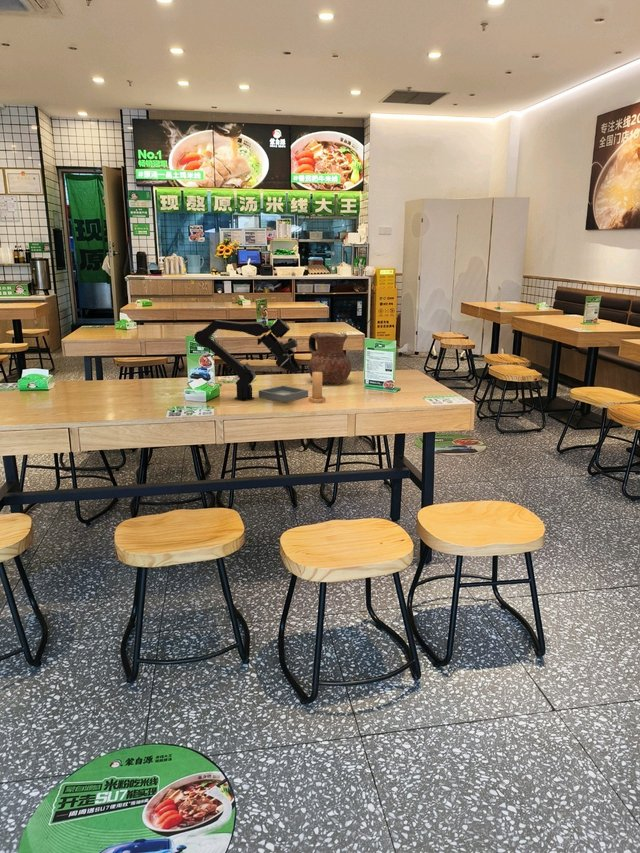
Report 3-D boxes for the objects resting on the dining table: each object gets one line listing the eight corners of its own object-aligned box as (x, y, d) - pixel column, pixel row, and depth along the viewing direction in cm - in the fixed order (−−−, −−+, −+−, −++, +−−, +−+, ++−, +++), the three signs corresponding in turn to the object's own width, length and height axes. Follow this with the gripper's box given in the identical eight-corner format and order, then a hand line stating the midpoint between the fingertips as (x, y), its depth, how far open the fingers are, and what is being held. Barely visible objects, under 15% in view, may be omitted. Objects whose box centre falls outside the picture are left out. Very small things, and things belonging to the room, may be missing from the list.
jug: (351, 378, 329) (352, 331, 322) (351, 387, 309) (352, 336, 302) (309, 378, 330) (309, 330, 323) (306, 386, 309) (306, 335, 303)
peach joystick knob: (317, 403, 273) (318, 374, 270) (305, 401, 278) (305, 372, 274) (328, 401, 279) (328, 372, 275) (316, 398, 283) (316, 370, 280)
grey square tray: (283, 402, 275) (283, 395, 274) (258, 397, 285) (258, 390, 284) (308, 396, 287) (308, 390, 286) (283, 391, 297) (283, 385, 296)
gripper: (283, 335, 263) (309, 362, 265) (289, 330, 281) (313, 355, 283) (265, 353, 266) (290, 379, 268) (272, 346, 284) (296, 371, 286)
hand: (298, 371), depth 276 cm, fingers open, 9 cm apart
